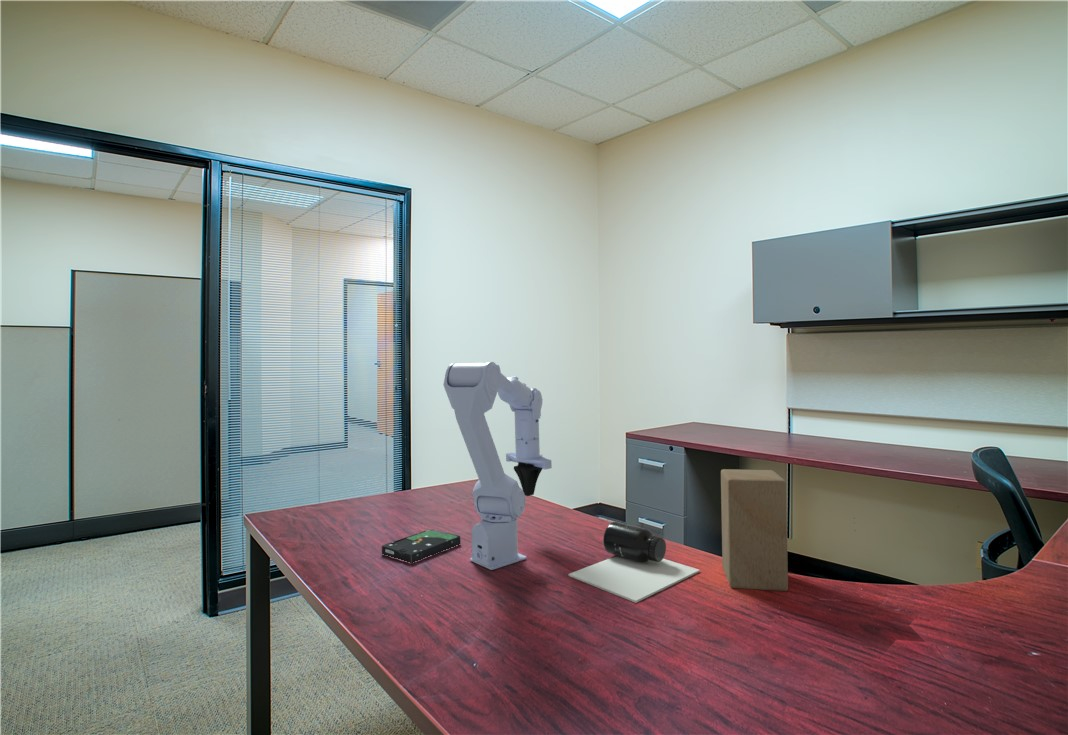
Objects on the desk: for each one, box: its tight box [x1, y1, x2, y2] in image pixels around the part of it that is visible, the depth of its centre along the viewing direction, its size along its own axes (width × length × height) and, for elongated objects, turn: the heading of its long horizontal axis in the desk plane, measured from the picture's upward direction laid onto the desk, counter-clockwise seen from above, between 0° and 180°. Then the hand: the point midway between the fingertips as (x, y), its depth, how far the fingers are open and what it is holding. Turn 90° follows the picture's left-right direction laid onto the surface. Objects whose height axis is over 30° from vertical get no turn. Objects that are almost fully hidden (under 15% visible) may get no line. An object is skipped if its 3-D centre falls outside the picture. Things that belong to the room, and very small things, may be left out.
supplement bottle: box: [602, 521, 667, 563], centre depth 113 cm, size 7×7×12 cm
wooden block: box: [720, 468, 789, 592], centre depth 103 cm, size 10×10×20 cm
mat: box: [568, 555, 701, 604], centre depth 106 cm, size 20×16×1 cm
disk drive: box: [381, 528, 461, 563], centre depth 123 cm, size 10×3×15 cm
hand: (528, 494), depth 129 cm, fingers closed
